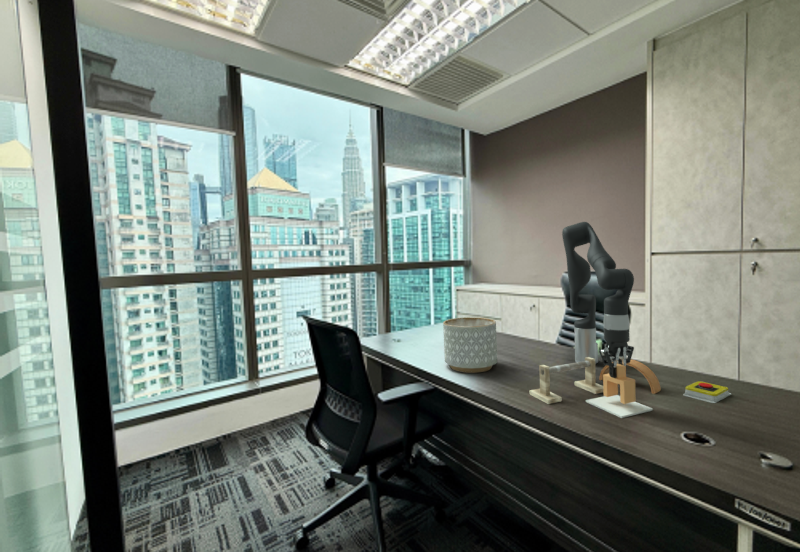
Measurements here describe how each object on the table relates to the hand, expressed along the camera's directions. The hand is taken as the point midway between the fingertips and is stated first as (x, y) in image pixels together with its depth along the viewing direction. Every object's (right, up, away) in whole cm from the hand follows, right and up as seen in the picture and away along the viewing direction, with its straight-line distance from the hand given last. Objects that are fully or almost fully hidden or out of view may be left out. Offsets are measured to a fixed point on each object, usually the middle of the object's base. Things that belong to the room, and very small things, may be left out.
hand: (617, 376), depth 120 cm
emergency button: (+37, -9, +7) cm, 39 cm away
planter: (-40, -10, +52) cm, 67 cm away
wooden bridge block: (+1, -8, 0) cm, 8 cm away
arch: (+16, -9, +19) cm, 27 cm away
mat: (+1, -10, 0) cm, 10 cm away
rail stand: (-10, -10, +14) cm, 20 cm away
